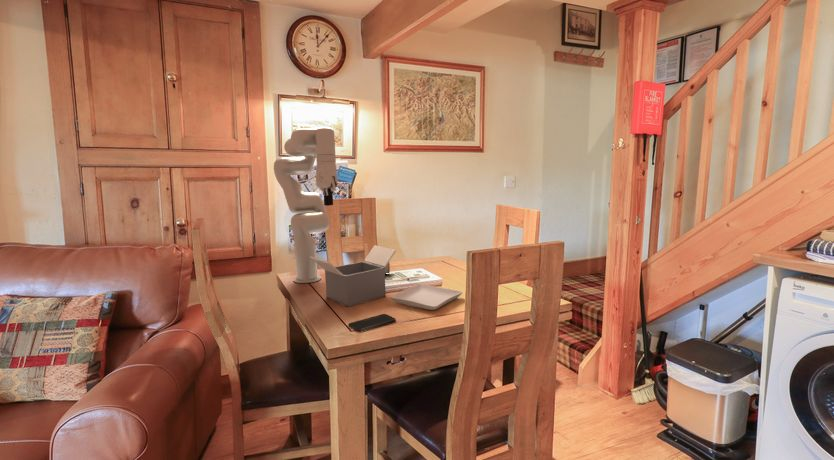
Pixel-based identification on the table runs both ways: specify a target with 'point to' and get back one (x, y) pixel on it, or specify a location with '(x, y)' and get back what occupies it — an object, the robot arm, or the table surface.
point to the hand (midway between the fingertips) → (328, 205)
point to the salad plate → (425, 296)
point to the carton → (356, 283)
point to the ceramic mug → (387, 268)
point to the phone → (372, 322)
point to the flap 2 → (380, 255)
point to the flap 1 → (326, 265)
